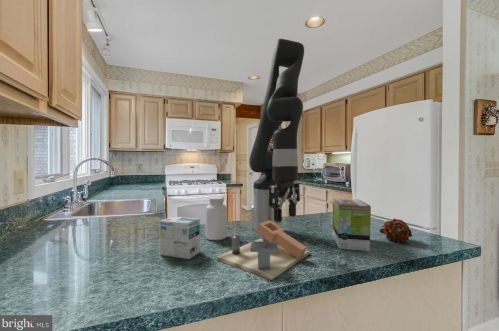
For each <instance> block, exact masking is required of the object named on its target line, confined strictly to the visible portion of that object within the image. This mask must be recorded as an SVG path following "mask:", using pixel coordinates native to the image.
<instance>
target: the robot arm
mask: <svg viewBox="0 0 499 331" xmlns="http://www.w3.org/2000/svg"><path fill="white" fill-rule="evenodd" d="M304 57H305V46H304V44H303V43H301V42H299V41H294V40H290V39H285V38H278V39H277V40H276V42H275V44H274V48H273V54H272V60H271V65H270V70H269V71H270V72H269V78H268V83H267V88H266V92H265V97H264V100H263V105H262V108H261V113H260V119H259V124H258V128H257V132H256V136H255V139H254V142H253V146H252V149H251V151H250V155H249V168H250V169H251V171H252V172H254V173H260V176H259V178H258V179H256V180H254V182H253V187H252V188H253V205H252V206H251V229H252V230H253V231H255V232H256V230H257V227H258V224H260V223H263V222H265V221H268V220H270V221H272V222H273V223H275V224H276V223H281V222H283V212H282V210H283V209H282V207H283V205H284V203H285V202H286V200H287V203H288V216H289V217H293V218H294V217H296V216H297V204H298V202H301V196H300V194H301V193H300V192H301V189H300V183H299V182H297V181H298V180H299V156H298V131H299V125H300V122H301V118H302V115H303V111H304V104H303V101H302V100H301V98H300V97H298V90H299V89H298V88H299V78H300V75H301V70H302V66H303V61H304ZM280 67H283V68H286V69H284V70H283V71H282V72H281V73H280ZM283 122H289V124H288V126H286V127H284V128H281V129H280V127H282V124H283ZM272 139H273V140H272ZM271 140H272V145H273V146H272V148H273V149H272V150H269V146H270V144H271Z"/></svg>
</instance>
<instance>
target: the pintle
mask: <svg viewBox="0 0 499 331" xmlns="http://www.w3.org/2000/svg"><path fill="white" fill-rule="evenodd" d="M240 247H241V236H240V235H238V234H235V235H232V236H231V251H232V254H234V255H237V254H240Z"/></svg>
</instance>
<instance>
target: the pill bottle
mask: <svg viewBox="0 0 499 331" xmlns="http://www.w3.org/2000/svg"><path fill="white" fill-rule="evenodd" d="M224 201H225V199H224V197H221V196H211V197H209V204H208V205H207V206H206V207H205V238H206V239H207V240H210V241H222V240H224V239H226V238H227V236H228V207H227V206H226V204H224Z"/></svg>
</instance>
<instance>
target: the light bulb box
mask: <svg viewBox="0 0 499 331" xmlns="http://www.w3.org/2000/svg"><path fill="white" fill-rule="evenodd" d="M159 240H160V242H159V243H160V244H159V245H160V246H159V248H160V249H159V250H160V252H159V254H160V256H165V257H167V256H168V257H173V258H179V259H185V260H190V259H192V258H193V257H195V256H196V255H199V253H201V251H202V250H201V249H202V248H201V247H202V246H201V218H196V217H193V218H192V217H184V216H183V217H182V216H181V217H180V216H170V217H167V218H164V219H160V220H159Z"/></svg>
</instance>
